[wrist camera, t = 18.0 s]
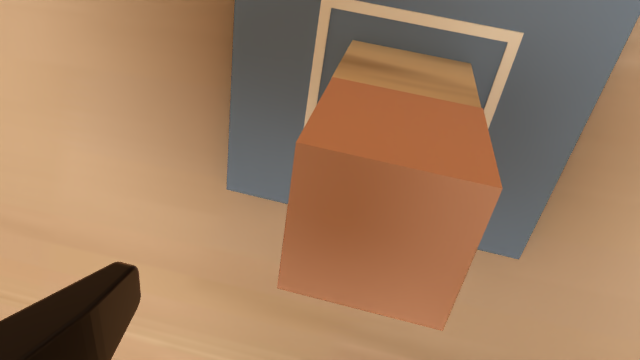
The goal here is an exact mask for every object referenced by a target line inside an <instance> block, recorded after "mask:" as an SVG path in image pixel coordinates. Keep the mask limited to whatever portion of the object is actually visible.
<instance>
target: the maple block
mask: <svg viewBox="0 0 640 360" xmlns="http://www.w3.org/2000/svg"><path fill="white" fill-rule="evenodd" d="M332 77H336V78H340V79H345V80H350V81H355V82H359V83H364V84H369V85H374V86H379V87H383V88H388V89H393V90H398V91H402V92H407V93H412V94H417V95H422V96H426V97H431V98H436V99H441V100H446V101H450V102H455V103H460V104H465V105H469V106H474V107H479V108H481V104H480V100H479V95H478V91H477V87H476V83H475V79H474V74H473V70H472V66H471V63H466V62H461V61H456V60H451V59H446V58H441V57H436V56H431V55H426V54H421V53H416V52H411V51H405V50H400V49H395V48H390V47H385V46H380V45H375V44H370V43H365V42H360V41H355V40H352V42H351V44H350V46H349V47H348V49H347V51H346V53H345V54H344V56H343V58H342V60H341V62H340V63H339V65H338V67H337V69H336V70H335V72H334V74H333V76H332ZM331 79H332V78H331Z"/></svg>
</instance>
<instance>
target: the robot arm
mask: <svg viewBox="0 0 640 360" xmlns="http://www.w3.org/2000/svg"><path fill="white" fill-rule="evenodd" d="M140 297H141V292H140V281H139V271H138V269H137V267H136V266H134V265H130V264H126V263H123V262H115V263H112V264H110V265H108V266H106V267H104V268H102V269H100V270H98V271H96V272H94V273H93V274H91V275H89V276H87V277H85V278H83V279H81V280H79V281H77V282H75V283H73V284H71V285H69V286H67V287H65V288H63V289H61V290H59V291H58V292H56V293H54V294H52V295H50V296H48V297H46V298H44V299H42V300H40V301H38V302H36V303H34V304H32V305H30V306H28V307H26V308H25V309H23V310H21V311H19V312H17V313H15V314H13V315H11V316H9V317H7V318H5V319H3V320H1V321H0V360H111V359H112V357H113V355H114V353H115V351H116V349H117V347H118V345H119V343H120V341H121V339H122V337H123V335H124V333H125V331H126V329H127V327H128V325H129V323H130V321H131V319H132V317H133V316H134V314H135V312H136V310H137V308H138V305H139V302H140Z"/></svg>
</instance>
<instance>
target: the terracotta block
mask: <svg viewBox="0 0 640 360" xmlns="http://www.w3.org/2000/svg"><path fill="white" fill-rule="evenodd" d="M502 189H503V188H502V184H501V180H500V176H499V172H498V168H497V164H496V159H495V155H494V151H493V147H492V143H491V139H490V135H489V131H488V127H487V123H486V118H485V114H484V110H483V108H479V107H474V106H469V105H465V104H460V103H455V102H450V101H446V100H441V99H436V98H431V97H426V96H422V95H417V94H412V93H407V92H402V91H398V90H393V89H388V88H383V87H379V86H374V85H369V84H364V83H359V82H355V81H350V80H345V79H340V78H336V77H332V79H331V80H330V82H329V84H328V86H327V88H326V89H325V91H324V93H323V95H322V97H321V98H320V100H319V102H318V104H317V105H316V107H315V109H314V111H313V113H312V114H311V116H310V118H309V120H308V122H307V123H306V125H305V127H304V129H303V131H302V132H301V134H300V136H299V138H298V139H297V141H296V146H295V154H294V161H293V169H292V177H291V185H290V193H289V200H288V208H287V216H286V224H285V231H284V239H283V247H282V255H281V262H280V270H279V278H278V286H277V288H278V289H282V290H286V291H290V292H294V293H298V294H301V295H305V296H309V297H313V298H317V299H321V300H325V301H329V302H333V303H336V304H340V305H344V306H348V307H352V308H356V309H360V310H364V311H368V312H372V313H375V314H379V315H383V316H387V317H391V318H395V319H399V320H403V321H407V322H410V323H414V324H418V325H422V326H426V327H430V328H434V329H438V330H442V331H443V329H444V327H445V324H446V322H447V320H448V317H449V315H450V312H451V310H452V308H453V305H454V303H455V301H456V298H457V296H458V293H459V291H460V289H461V286H462V284H463V282H464V279H465V277H466V274H467V272H468V270H469V267H470V265H471V263H472V260H473V258H474V255H475V253H476V251H477V248H478V246H479V244H480V241H481V239H482V236H483V234H484V232H485V229H486V227H487V225H488V222H489V220H490V217H491V215H492V213H493V210H494V208H495V206H496V203H497V201H498V198H499V196H500V194H501V191H502Z"/></svg>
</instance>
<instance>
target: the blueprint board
mask: <svg viewBox="0 0 640 360" xmlns="http://www.w3.org/2000/svg"><path fill="white" fill-rule="evenodd" d="M639 15H640V0H235V7H234V30H233V53H232V76H231V99H230V122H229V145H228V169H227V190H231V191H235V192H239V193H244V194H248V195H252V196H256V197H260V198H265V199H269V200H273V201H277V202H281V203H285V204H288V200H289V193H290V185H291V177H292V169H293V161H294V154H295V146H296V141H297V139H298V138H299V136H300V134H301V132H302V131H303V129H304V127H305V125H306V123H307V122H308V120H309V118H310V116H311V114H312V113H313V111H314V109H315V107H316V105H317V104H318V102H319V100H320V98H321V97H322V95H323V93H324V91H325V89H326V88H327V86H328V84H329V82H330V80H331V78H332V76H333V74H334V72H335V70H336V69H337V67H338V65H339V63H340V62H341V60H342V58H343V56H344V54H345V53H346V51H347V49H348V47H349V46H350V44H351V42H352V40H355V41H360V42H365V43H370V44H375V45H380V46H385V47H390V48H395V49H400V50H405V51H411V52H416V53H421V54H426V55H431V56H436V57H441V58H446V59H451V60H456V61H461V62H466V63H471V66H472V70H473V74H474V79H475V83H476V87H477V91H478V95H479V100H480V104H481V108H483V110H484V114H485V118H486V123H487V127H488V131H489V135H490V139H491V143H492V147H493V151H494V155H495V159H496V164H497V168H498V172H499V176H500V180H501V184H502V188H503V189H502V191H501V194H500V196H499V198H498V201H497V203H496V206H495V208H494V210H493V213H492V215H491V217H490V220H489V222H488V225H487V227H486V229H485V232H484V234H483V236H482V239H481V241H480V244H479V246H478V248H477V250H482V251H486V252H490V253H494V254H498V255H503V256H507V257H511V258H515V259H519V258H520V256H521V254H522V252H523V250H524V248H525V246H526V244H527V242H528V240H529V238H530V236H531V234H532V232H533V230H534V228H535V226H536V224H537V222H538V220H539V218H540V216H541V214H542V212H543V210H544V208H545V206H546V204H547V202H548V200H549V197H550V195H551V193H552V191H553V189H554V187H555V185H556V183H557V181H558V179H559V177H560V175H561V173H562V171H563V169H564V167H565V165H566V163H567V161H568V159H569V157H570V155H571V153H572V151H573V149H574V147H575V145H576V143H577V141H578V139H579V137H580V135H581V133H582V131H583V129H584V127H585V125H586V123H587V120H588V118H589V116H590V114H591V112H592V110H593V108H594V106H595V104H596V102H597V100H598V98H599V96H600V94H601V92H602V90H603V88H604V86H605V84H606V82H607V80H608V78H609V76H610V74H611V72H612V70H613V68H614V66H615V64H616V62H617V60H618V58H619V56H620V54H621V52H622V50H623V48H624V45H625V43H626V41H627V39H628V37H629V35H630V33H631V31H632V29H633V27H634V25H635V23H636V21H637V19H638V17H639Z"/></svg>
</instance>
